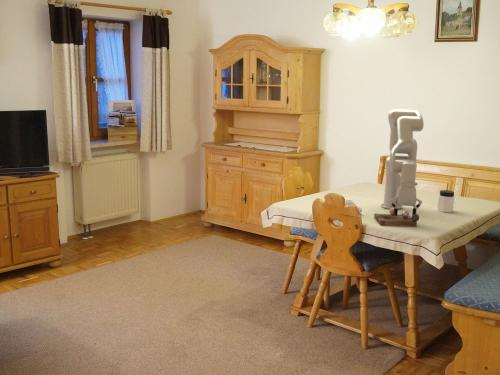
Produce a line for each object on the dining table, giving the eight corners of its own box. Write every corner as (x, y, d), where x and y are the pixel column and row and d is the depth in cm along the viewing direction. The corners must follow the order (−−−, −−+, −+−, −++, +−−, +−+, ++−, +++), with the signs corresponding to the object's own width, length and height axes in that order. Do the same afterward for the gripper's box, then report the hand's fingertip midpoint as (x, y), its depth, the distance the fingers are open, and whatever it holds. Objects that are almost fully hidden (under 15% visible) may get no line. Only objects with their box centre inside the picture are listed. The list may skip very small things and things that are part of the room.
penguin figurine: (343, 196, 325) (364, 200, 323) (340, 210, 327) (361, 214, 324) (341, 198, 319) (363, 202, 317) (339, 213, 321) (360, 217, 318)
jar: (449, 213, 332) (451, 193, 330) (436, 211, 337) (437, 191, 334) (454, 210, 339) (456, 191, 337) (440, 208, 344) (442, 189, 342)
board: (374, 218, 314) (374, 213, 313) (408, 219, 314) (408, 214, 314) (380, 225, 298) (381, 220, 298) (416, 226, 298) (416, 222, 298)
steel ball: (400, 217, 308) (401, 209, 307) (407, 217, 308) (408, 210, 307) (402, 218, 304) (403, 211, 303) (409, 219, 304) (410, 211, 303)
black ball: (410, 220, 301) (410, 212, 301) (417, 220, 301) (418, 213, 301) (412, 222, 297) (413, 214, 297) (419, 222, 297) (420, 214, 297)
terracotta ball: (388, 213, 314) (389, 206, 313) (395, 214, 314) (396, 207, 313) (390, 215, 310) (390, 208, 309) (397, 215, 310) (398, 208, 309)
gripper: (421, 183, 306) (418, 214, 309) (389, 182, 306) (387, 213, 309) (425, 186, 299) (422, 217, 302) (393, 185, 298) (390, 216, 302)
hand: (404, 215), depth 305 cm, fingers open, 9 cm apart
